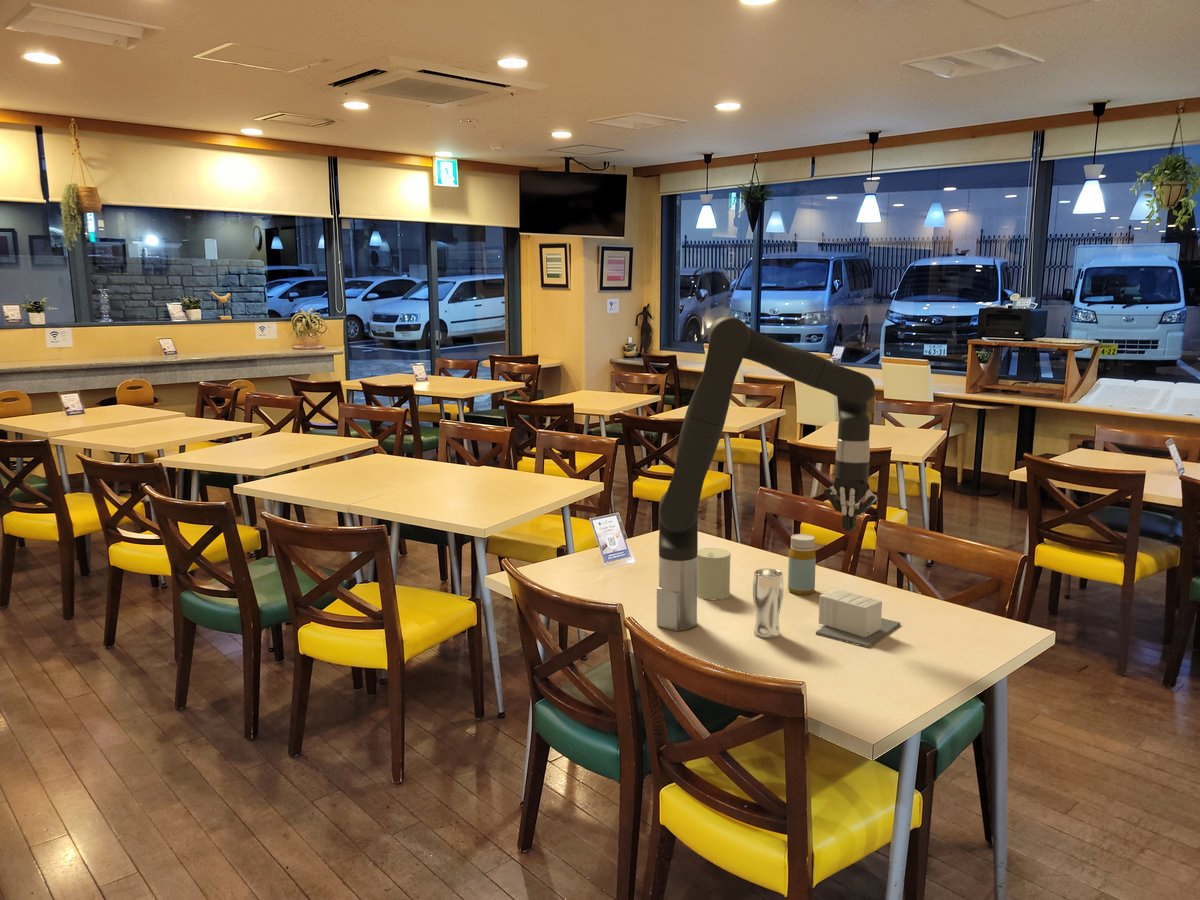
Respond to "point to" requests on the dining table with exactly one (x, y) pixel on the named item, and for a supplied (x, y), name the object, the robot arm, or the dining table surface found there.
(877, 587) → the dining table surface
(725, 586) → the can
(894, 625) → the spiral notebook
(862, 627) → the supplement box
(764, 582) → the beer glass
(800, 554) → the bottle
